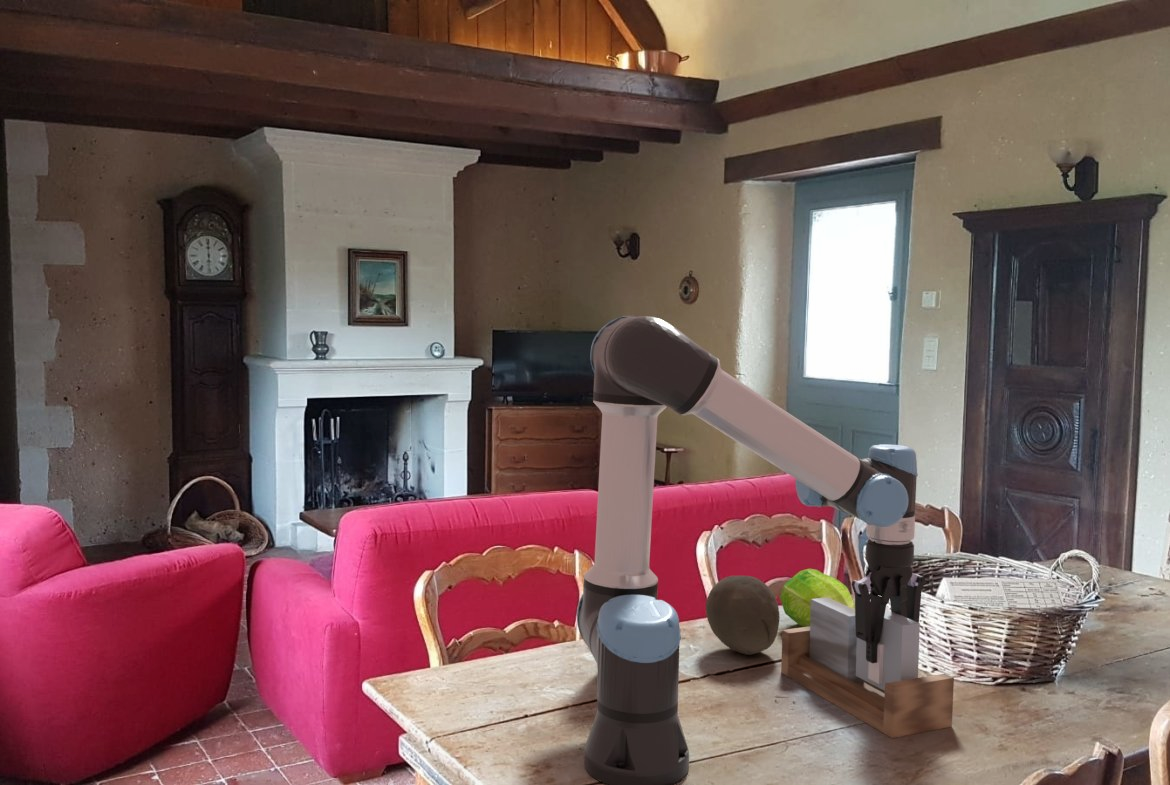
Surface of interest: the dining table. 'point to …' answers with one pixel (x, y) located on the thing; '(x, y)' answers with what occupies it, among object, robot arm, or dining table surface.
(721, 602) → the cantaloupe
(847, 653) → the wooden slotted stand
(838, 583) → the lettuce
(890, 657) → the gray angular faceted block
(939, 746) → the dining table surface
